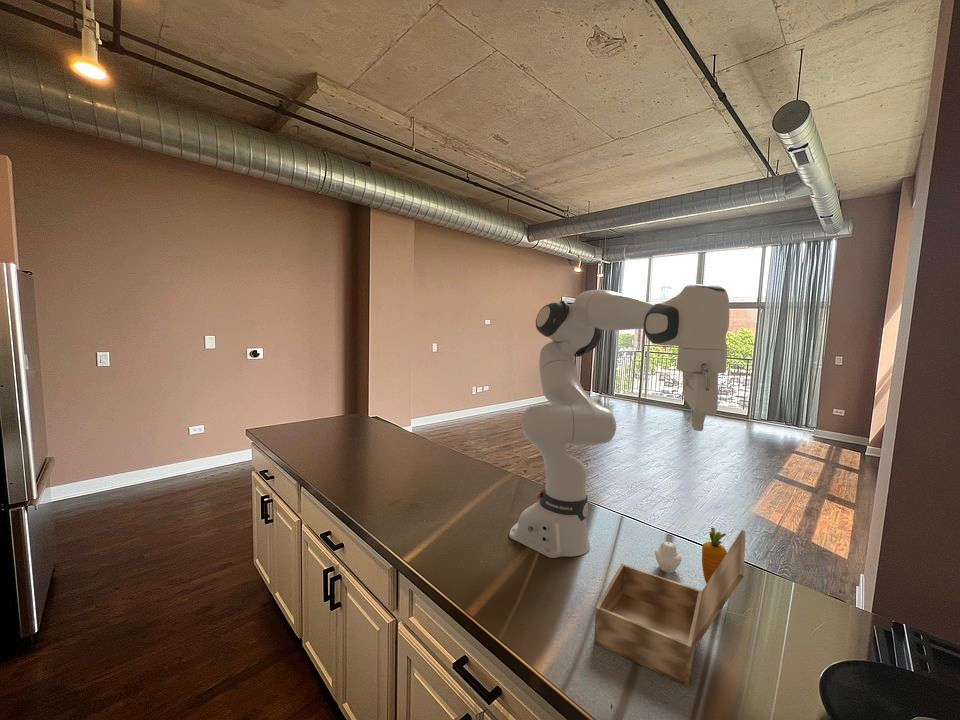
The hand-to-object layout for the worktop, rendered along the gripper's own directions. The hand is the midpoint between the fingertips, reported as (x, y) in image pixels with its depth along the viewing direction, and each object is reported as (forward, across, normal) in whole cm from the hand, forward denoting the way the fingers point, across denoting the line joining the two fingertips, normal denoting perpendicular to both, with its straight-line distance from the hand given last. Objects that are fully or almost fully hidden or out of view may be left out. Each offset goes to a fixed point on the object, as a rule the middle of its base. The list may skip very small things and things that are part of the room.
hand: (697, 429), depth 83 cm
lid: (+25, -13, -3) cm, 28 cm away
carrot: (+39, +9, -6) cm, 41 cm away
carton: (+39, -10, +8) cm, 41 cm away
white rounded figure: (+39, +15, +3) cm, 42 cm away
